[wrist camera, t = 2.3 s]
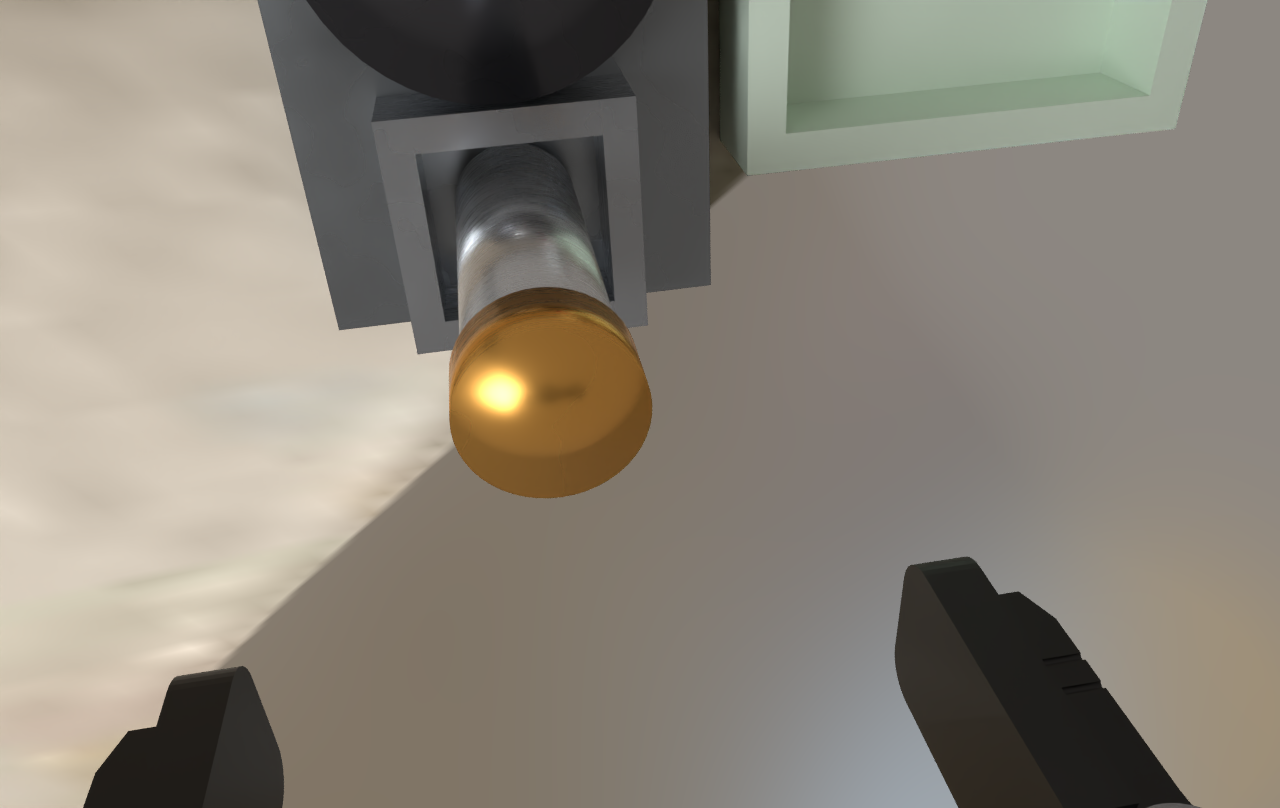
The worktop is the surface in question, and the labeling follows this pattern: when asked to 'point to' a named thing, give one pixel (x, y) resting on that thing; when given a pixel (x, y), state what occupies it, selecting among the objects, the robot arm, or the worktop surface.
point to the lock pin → (537, 336)
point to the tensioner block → (493, 138)
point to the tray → (944, 75)
